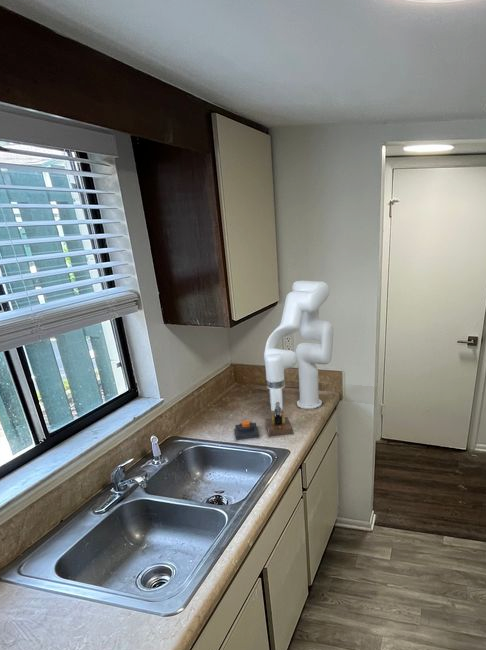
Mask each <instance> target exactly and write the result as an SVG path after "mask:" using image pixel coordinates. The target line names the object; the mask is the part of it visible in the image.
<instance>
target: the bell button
mask: <svg viewBox="0 0 486 650" xmlns="http://www.w3.org/2000/svg"><path fill="white" fill-rule="evenodd" d="M250 422H251V421H249V420H242V421H241V423H242V427H249V426H250Z"/></svg>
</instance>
